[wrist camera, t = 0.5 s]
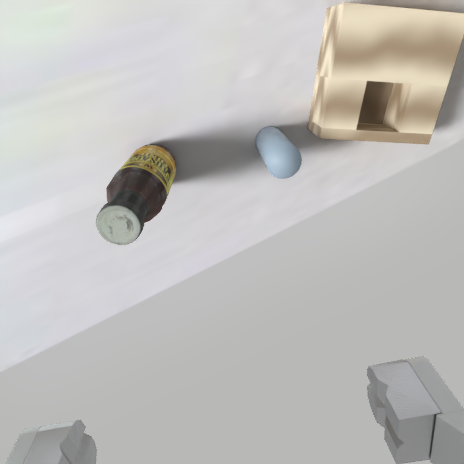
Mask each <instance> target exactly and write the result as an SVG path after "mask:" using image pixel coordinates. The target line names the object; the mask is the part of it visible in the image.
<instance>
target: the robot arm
mask: <svg viewBox="0 0 464 464" xmlns="http://www.w3.org/2000/svg"><path fill="white" fill-rule="evenodd" d="M367 376H368V378H369V380H370V382H371V383H370V384H369V385H368V387H367V390H368V398H369V403H370V406H371V409H372V412H373V414H374V417H375V419H376V421H377V423H379V424H380V425H381V426H383V427H384V428H385V441H386V443H387V445H388V447H389V449H390V451H391V454H392V455H393V458H394V460H395V462H396V464H401V463H408V462H415V461H423V460H430V461H431V463H433V464H464V408H463V407H462V406H461V404H460V403H459V402H458V400H457V399H456V397H455V396H454V395H453V393H452V392H451V391H450V389H449V388H448V386H447V385H446V384H445V382H444V381H443V379H442V378H441V377H440V375H439V374H438V373H437V371H436V370H435V369H434V367H433V366H432V364H431V363H430V362H429V360H428V359H427V358H425V357H424V356H422V357H416V358H411V359H406V360H398V361H393V362H388V363H383V364H378V365H373V366H369V367H368V369H367ZM84 430H85V426H84V424H83V422H82V421H81V420H76V421H71V422H64V423H57V424H51V425H45V426H38V427H33V428H27V429H25V430H24V431H23V432H22V433H21V434H20V435H19V437H18V439H17V441H16V443H15V445H14V447H13V449H12V451H11V453H10V455H9V457H8V459H7V461H6V463H5V464H96V446H95V442H94V440H93V438H92V437H91V436H89V435H87V434H85V433H84Z"/></svg>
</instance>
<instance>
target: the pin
mask: <svg viewBox="0 0 464 464" xmlns="http://www.w3.org/2000/svg"><path fill="white" fill-rule="evenodd" d="M255 143H256V147H257V149H258V151H259V153H260V155H261V157H262V159H263V161H264V163H265V165H266V167H267V169H268V170H269V172H270V173H271V174H272V175H273V176H274V177H277V178H281V179H284V178H289V177H291V176H293V175H294V174H295V173H296V172H297V171H298V170H299V168H300V166H301V161H302V158H301V154H300V152H299V150H298V149H297V148H296V147H295V146H294V145H293V144H292V143H291V142H290V140H289V139H288V138H287V137H286V136H285V135H284V134H283V133H282V132H281V131H280V130H279V129H278V128H276V127H266V128H263V129H262V130H261V131H260V132H259V133H258V134H257V137H256V142H255Z"/></svg>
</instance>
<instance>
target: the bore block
mask: <svg viewBox="0 0 464 464" xmlns="http://www.w3.org/2000/svg"><path fill="white" fill-rule="evenodd" d="M463 36H464V13H455V12H444V11H433V10H422V9H411V8H400V7H389V6H379V5H368V4H357V3H346V2H344V3H341V4H338V5H335V6H333V7H330V8H327V12H326V18H325V24H324V30H323V36H322V43H321V49H320V55H319V61H318V67H317V73H316V80H315V86H314V92H313V98H312V104H311V111H310V117H309V123H308V129H309V130H310V131H311V132H313V133H314V134H315V135H316V136H318V137H319V138H322V139H340V140H358V141H376V142H394V143H412V144H429V142H430V139H431V136H432V133H433V130H434V127H435V124H436V120H437V117H438V114H439V111H440V108H441V105H442V102H443V99H444V95H445V92H446V89H447V86H448V83H449V80H450V77H451V74H452V71H453V67H454V64H455V61H456V58H457V55H458V52H459V49H460V46H461V42H462V39H463Z"/></svg>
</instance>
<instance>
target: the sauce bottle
mask: <svg viewBox="0 0 464 464" xmlns="http://www.w3.org/2000/svg"><path fill="white" fill-rule="evenodd" d="M175 174H176V164H175V159H174V157H173V156H172V154H171V153H170V152H169V151H168V150H167V149H165V148H163V147H162V146H159V145H145V146H143V147H141V148H139V149H137V150H136V151H135V152H134V153H133V154H132V156H131V157H130V158H129V159H128V160H127V161H126V162H125V164H124V165H123V166H122V167H121V168H120V169H119V171H118V172H117V173H116V174H115V176H114V177H113V179H112V180H111V182H110V184H109V185H108V187H107V201H108V203H107V204H105V205H104V206H103V208H102V209H101V211H100V212H99V214H98V216H97V219H96V226H97V229H98V231H99V233H100V234H101V236H102V237H103V238H104V239H105V240H107V241H108V242H111V243H114V244H117V245H126V244H129V243H132V242H133V241H135V240H136V239H137V238H138V237H139V235H140V233H141V232H142V230H143V227H144V223H145V222H147V221H150V220H151V219H152V218H153V217H155V216H156V215H157V214H158V213H159V212H160V211H161V209H162V206H163V205H164V203H165V201H166V199H167V196H168V193H169V191H170V188H171V185H172V183H173V180H174V178H175Z"/></svg>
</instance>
